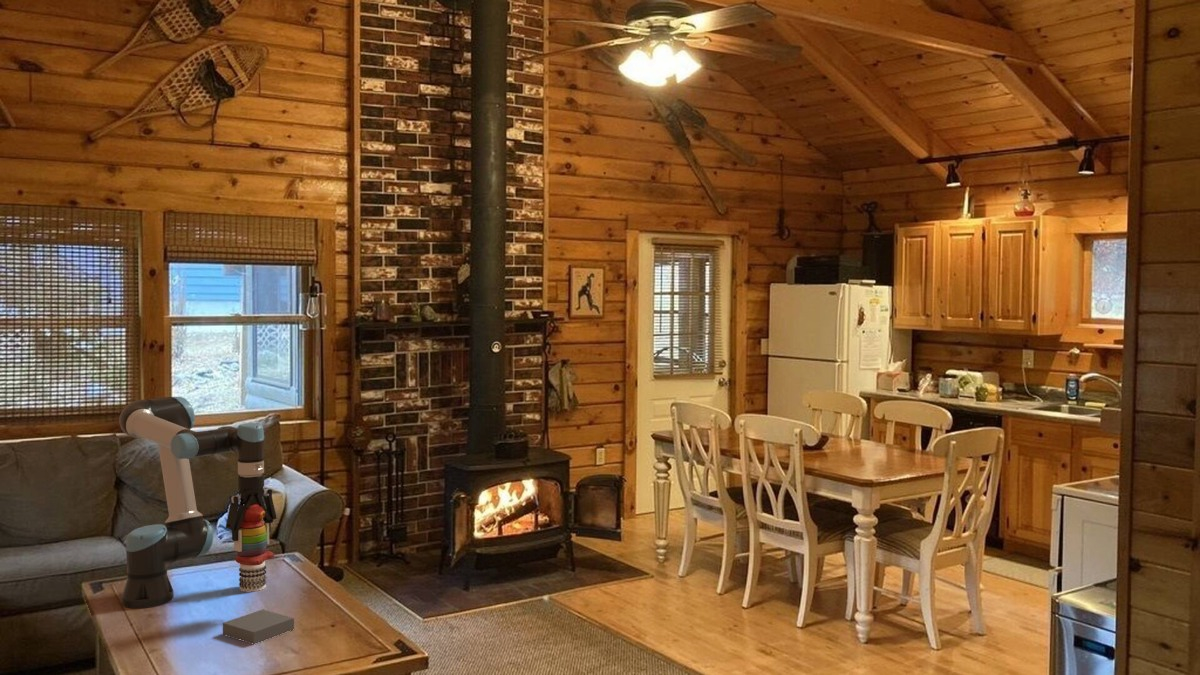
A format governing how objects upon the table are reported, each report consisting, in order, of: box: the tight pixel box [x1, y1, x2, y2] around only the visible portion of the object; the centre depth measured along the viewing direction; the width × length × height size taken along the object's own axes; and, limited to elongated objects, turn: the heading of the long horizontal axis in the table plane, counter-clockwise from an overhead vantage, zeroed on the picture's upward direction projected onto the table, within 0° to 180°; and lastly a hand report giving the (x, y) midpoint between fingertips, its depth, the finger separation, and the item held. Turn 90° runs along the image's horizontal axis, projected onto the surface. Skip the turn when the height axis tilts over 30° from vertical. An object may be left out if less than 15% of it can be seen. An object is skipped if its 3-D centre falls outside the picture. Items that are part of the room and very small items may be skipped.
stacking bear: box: [235, 504, 275, 566], centre depth 300 cm, size 11×10×18 cm
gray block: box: [222, 609, 295, 645], centre depth 286 cm, size 14×14×4 cm
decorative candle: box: [238, 519, 267, 593], centre depth 327 cm, size 9×9×25 cm
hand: (251, 547), depth 300 cm, fingers closed on stacking bear, 9 cm apart
